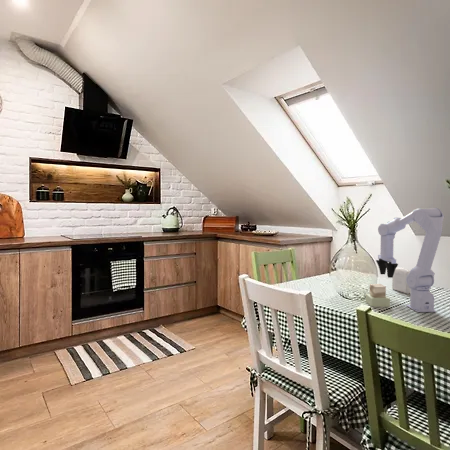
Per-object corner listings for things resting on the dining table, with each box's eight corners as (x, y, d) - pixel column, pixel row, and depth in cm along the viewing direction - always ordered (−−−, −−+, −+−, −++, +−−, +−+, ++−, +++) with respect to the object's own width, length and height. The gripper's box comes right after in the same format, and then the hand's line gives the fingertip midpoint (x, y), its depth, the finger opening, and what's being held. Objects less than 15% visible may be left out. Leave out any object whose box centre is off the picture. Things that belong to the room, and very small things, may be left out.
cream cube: (385, 297, 158) (385, 286, 157) (374, 297, 157) (375, 286, 157) (379, 294, 163) (380, 283, 162) (369, 294, 162) (369, 284, 162)
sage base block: (389, 307, 156) (389, 298, 156) (371, 307, 157) (371, 298, 156) (383, 302, 164) (383, 294, 164) (365, 302, 165) (365, 293, 164)
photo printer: (412, 293, 178) (413, 269, 178) (406, 293, 177) (406, 269, 176) (397, 288, 188) (397, 265, 188) (390, 289, 187) (391, 266, 186)
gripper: (372, 246, 178) (371, 273, 179) (385, 250, 164) (385, 279, 165) (385, 246, 178) (385, 272, 179) (400, 250, 164) (400, 278, 165)
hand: (386, 275), depth 172 cm, fingers open, 7 cm apart
